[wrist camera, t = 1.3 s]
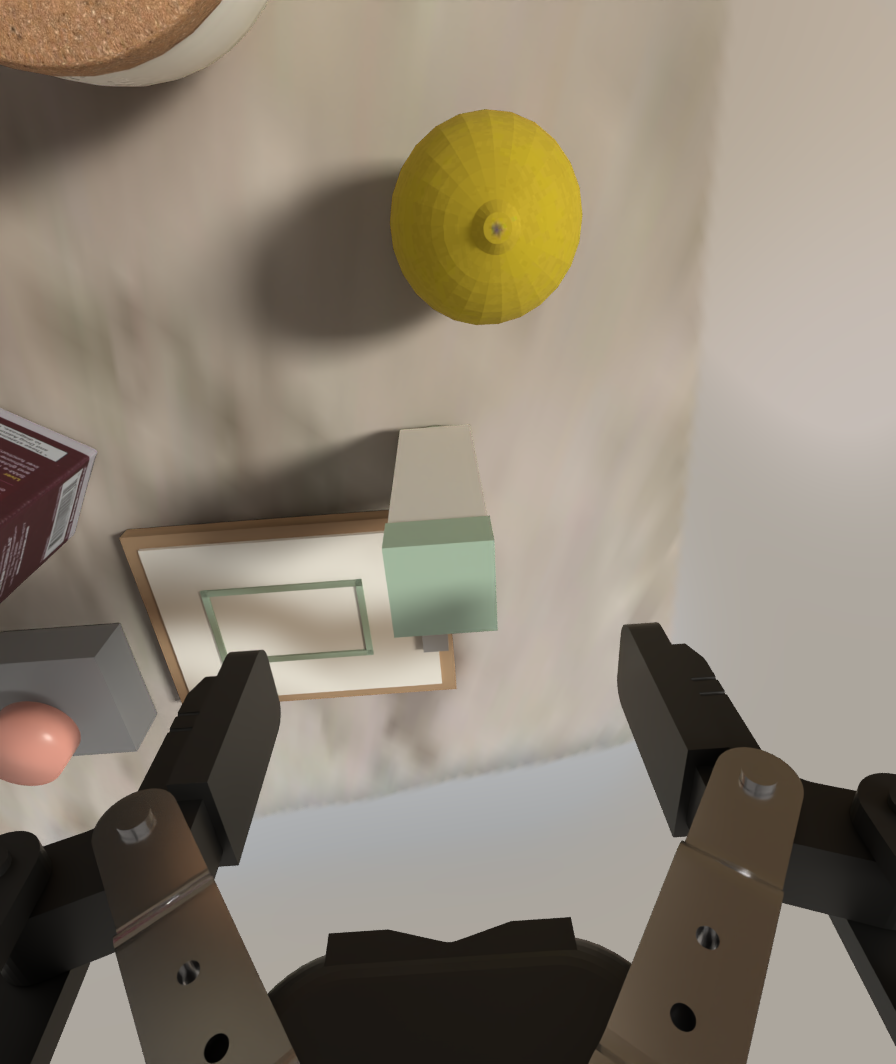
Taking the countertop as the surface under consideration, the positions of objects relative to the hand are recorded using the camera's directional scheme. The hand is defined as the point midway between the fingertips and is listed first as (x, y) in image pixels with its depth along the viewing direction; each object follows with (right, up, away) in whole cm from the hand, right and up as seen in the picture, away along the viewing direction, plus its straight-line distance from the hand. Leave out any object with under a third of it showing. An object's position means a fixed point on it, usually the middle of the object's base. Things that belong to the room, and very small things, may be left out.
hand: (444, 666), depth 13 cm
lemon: (+1, +14, +8) cm, 16 cm away
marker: (0, +6, +12) cm, 13 cm away
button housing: (-19, -4, +17) cm, 25 cm away
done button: (-19, -6, +14) cm, 24 cm away
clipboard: (-7, -1, +15) cm, 17 cm away
